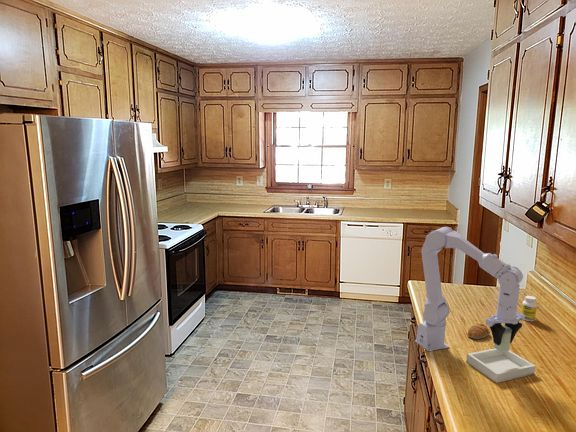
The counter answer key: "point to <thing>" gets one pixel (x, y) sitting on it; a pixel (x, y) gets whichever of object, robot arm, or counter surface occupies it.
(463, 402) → the counter surface
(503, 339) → the tin
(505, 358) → the bin
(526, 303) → the supplement bottle
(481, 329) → the pastry
